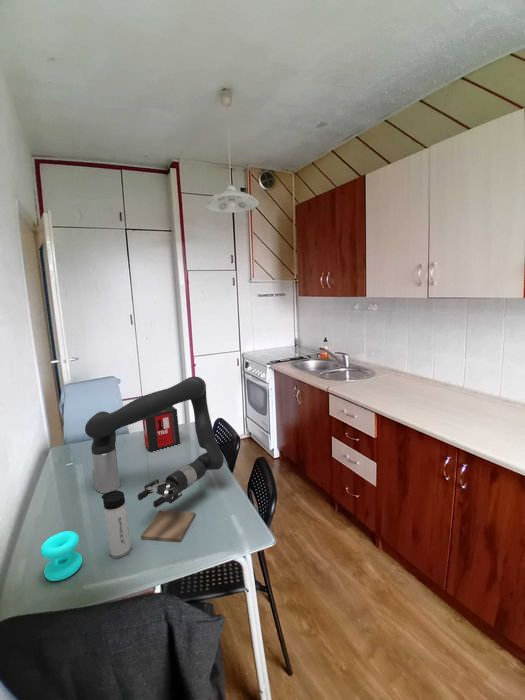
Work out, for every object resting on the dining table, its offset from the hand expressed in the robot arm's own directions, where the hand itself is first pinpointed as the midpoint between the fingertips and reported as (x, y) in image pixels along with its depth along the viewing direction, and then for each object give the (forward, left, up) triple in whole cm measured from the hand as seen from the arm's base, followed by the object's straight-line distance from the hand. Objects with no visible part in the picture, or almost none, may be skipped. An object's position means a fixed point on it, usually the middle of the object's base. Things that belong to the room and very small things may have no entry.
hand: (146, 501), depth 119 cm
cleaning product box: (-27, +67, -12) cm, 73 cm away
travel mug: (-5, -10, -11) cm, 16 cm away
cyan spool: (-18, -19, -12) cm, 29 cm away
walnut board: (+6, +3, -11) cm, 13 cm away
